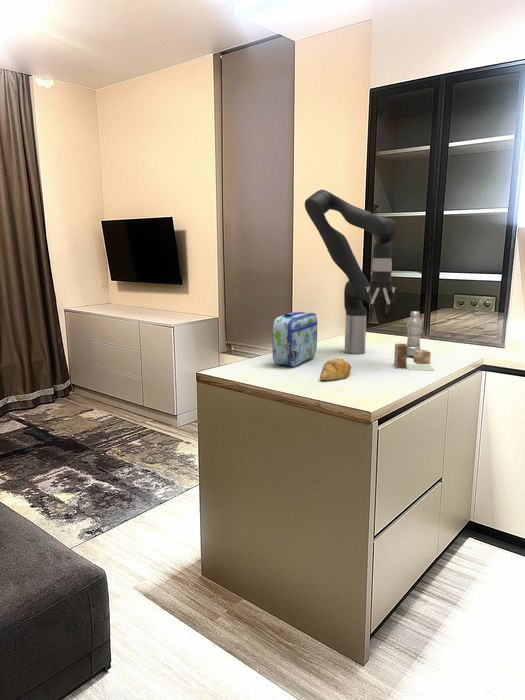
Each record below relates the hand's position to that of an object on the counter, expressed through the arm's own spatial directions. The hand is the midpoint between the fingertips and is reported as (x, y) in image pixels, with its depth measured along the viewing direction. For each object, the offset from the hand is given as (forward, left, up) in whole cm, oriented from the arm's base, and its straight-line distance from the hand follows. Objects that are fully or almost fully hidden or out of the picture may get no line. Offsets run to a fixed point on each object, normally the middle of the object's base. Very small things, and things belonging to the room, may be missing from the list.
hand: (379, 313), depth 206 cm
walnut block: (+9, 0, -21) cm, 23 cm away
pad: (+17, 0, -21) cm, 27 cm away
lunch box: (-33, +2, -22) cm, 40 cm away
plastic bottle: (+17, +22, -22) cm, 35 cm away
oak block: (+19, +10, -21) cm, 30 cm away
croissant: (-17, -20, -22) cm, 34 cm away
